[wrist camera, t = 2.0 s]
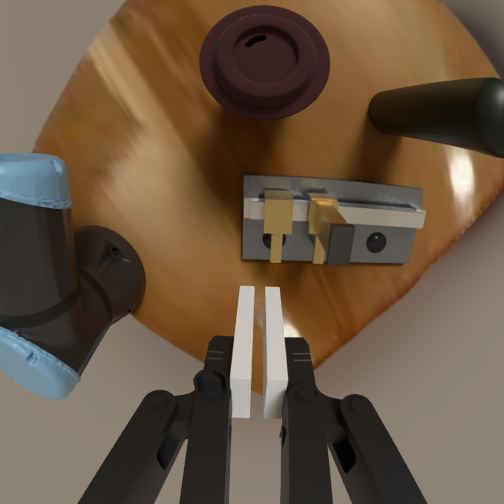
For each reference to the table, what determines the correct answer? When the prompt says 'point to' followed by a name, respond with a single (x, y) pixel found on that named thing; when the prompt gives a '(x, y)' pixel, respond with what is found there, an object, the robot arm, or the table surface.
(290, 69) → the coffee cup
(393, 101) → the wine bottle
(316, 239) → the sliding leg
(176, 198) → the table surface
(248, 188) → the trammel plate
